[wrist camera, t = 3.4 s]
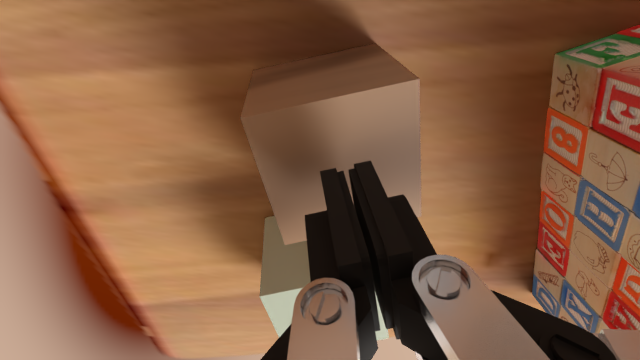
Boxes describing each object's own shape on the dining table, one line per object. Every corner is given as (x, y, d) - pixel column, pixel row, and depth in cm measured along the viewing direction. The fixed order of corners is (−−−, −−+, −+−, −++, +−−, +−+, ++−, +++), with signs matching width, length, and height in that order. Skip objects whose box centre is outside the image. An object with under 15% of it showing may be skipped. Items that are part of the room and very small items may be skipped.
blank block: (253, 69, 16) (240, 118, 11) (374, 42, 15) (419, 78, 10) (283, 172, 19) (284, 245, 14) (384, 150, 19) (421, 216, 14)
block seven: (264, 216, 21) (259, 299, 16) (356, 197, 20) (381, 274, 15) (287, 276, 24) (288, 360, 19) (366, 260, 24) (389, 340, 19)
